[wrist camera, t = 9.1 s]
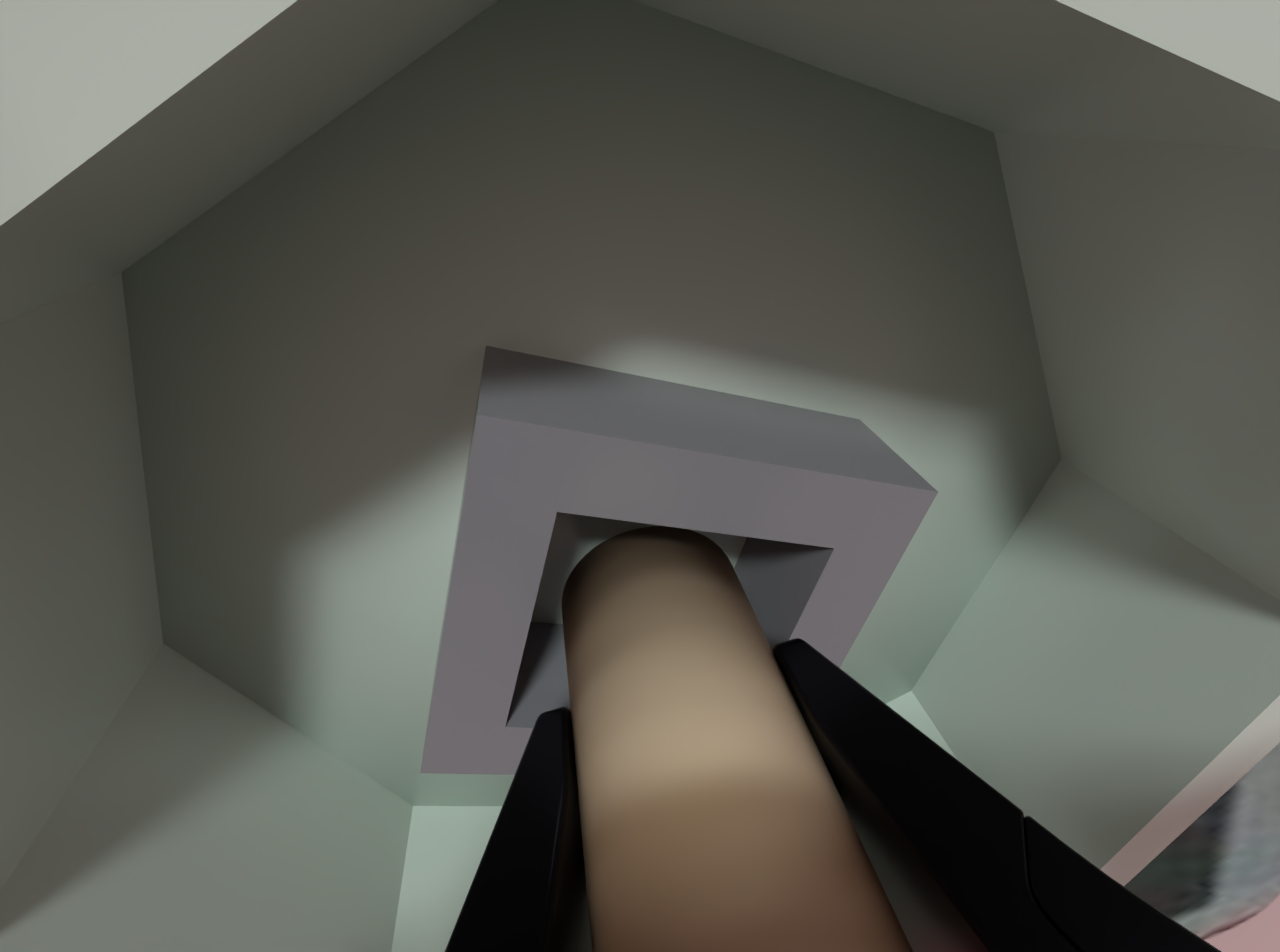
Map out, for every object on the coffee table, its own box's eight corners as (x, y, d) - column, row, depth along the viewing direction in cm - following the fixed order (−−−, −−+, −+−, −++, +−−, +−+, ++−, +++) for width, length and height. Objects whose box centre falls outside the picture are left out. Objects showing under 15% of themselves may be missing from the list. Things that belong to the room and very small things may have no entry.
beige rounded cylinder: (704, 668, 12) (1051, 1703, 4) (545, 656, 11) (611, 1920, 3) (760, 537, 10) (1422, 1719, 3) (583, 514, 10) (840, 2095, 2)
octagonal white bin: (840, 801, 19) (954, 1048, 14) (144, 796, 14) (-59, 1173, 9) (1259, 153, 11) (1887, 193, 6) (-37, -384, 6) (-2692, -2725, 1)
